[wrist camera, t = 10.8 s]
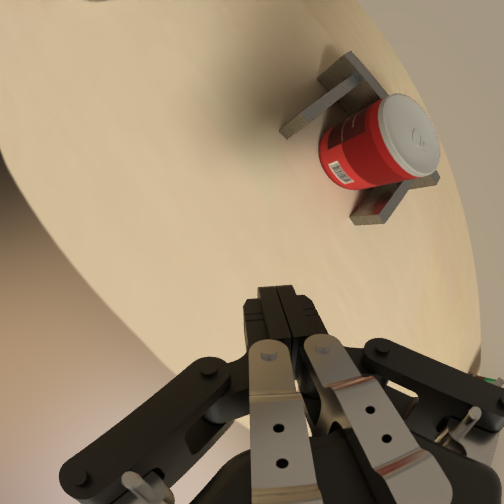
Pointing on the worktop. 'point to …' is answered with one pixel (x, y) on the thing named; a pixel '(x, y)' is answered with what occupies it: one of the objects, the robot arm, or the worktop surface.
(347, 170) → the canned food
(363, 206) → the keeper bracket
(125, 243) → the worktop surface
